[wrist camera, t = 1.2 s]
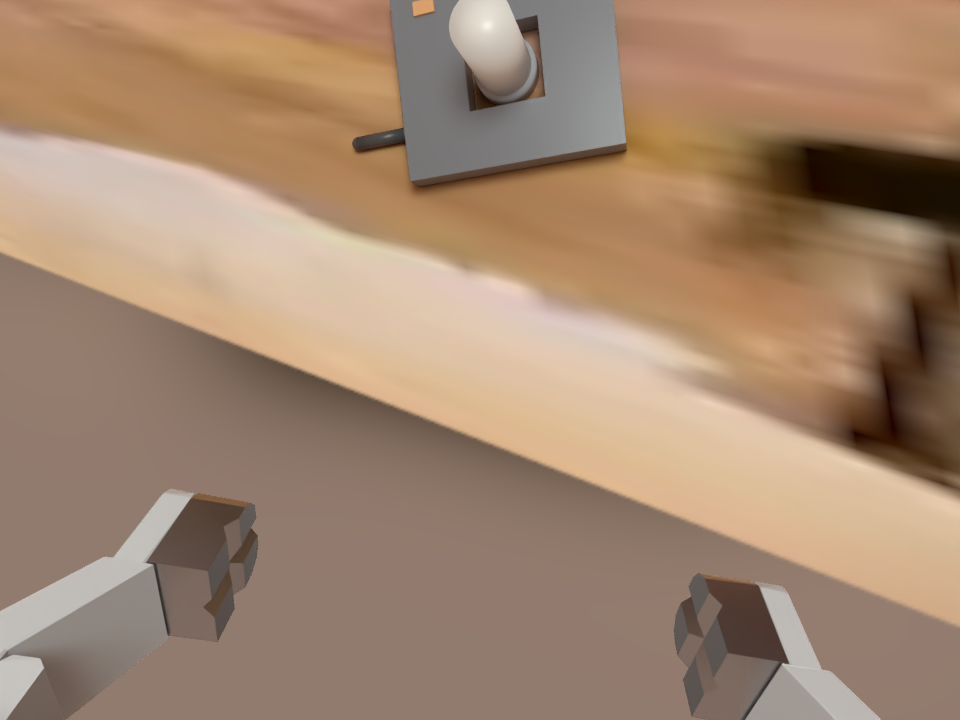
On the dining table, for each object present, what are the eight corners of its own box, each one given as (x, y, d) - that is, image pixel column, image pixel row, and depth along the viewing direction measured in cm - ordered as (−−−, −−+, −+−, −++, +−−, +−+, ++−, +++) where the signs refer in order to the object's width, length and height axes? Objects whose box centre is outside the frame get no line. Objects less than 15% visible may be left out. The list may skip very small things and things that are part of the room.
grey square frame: (608, -51, 42) (606, -69, 40) (626, 150, 43) (626, 142, 41) (340, 19, 48) (327, 6, 46) (361, 196, 49) (349, 191, 47)
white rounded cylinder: (535, 36, 44) (512, -26, 36) (542, 99, 44) (520, 53, 36) (475, 50, 45) (440, -7, 37) (482, 111, 46) (448, 69, 37)
